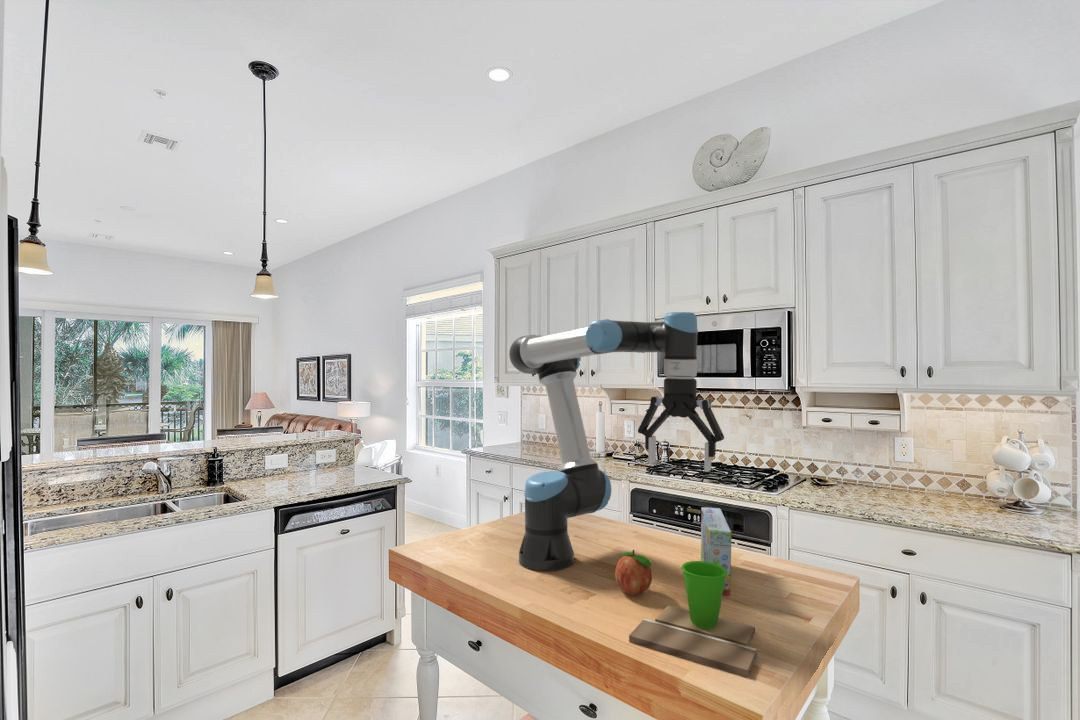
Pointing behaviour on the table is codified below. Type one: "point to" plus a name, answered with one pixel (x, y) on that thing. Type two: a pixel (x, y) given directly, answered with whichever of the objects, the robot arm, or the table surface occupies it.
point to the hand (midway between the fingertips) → (679, 467)
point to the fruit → (633, 573)
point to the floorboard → (695, 646)
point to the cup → (704, 591)
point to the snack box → (716, 541)
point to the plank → (722, 630)
